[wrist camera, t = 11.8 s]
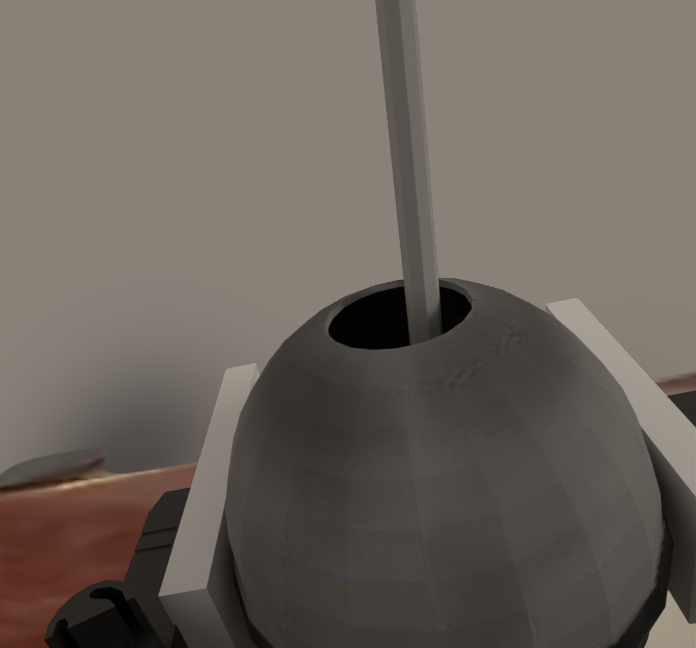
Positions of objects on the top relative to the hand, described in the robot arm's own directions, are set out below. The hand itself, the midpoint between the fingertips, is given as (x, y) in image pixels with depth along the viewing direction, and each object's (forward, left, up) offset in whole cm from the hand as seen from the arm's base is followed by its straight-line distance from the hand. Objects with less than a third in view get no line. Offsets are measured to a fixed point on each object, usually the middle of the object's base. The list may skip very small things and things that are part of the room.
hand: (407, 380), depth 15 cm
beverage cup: (+3, +4, -11) cm, 12 cm away
